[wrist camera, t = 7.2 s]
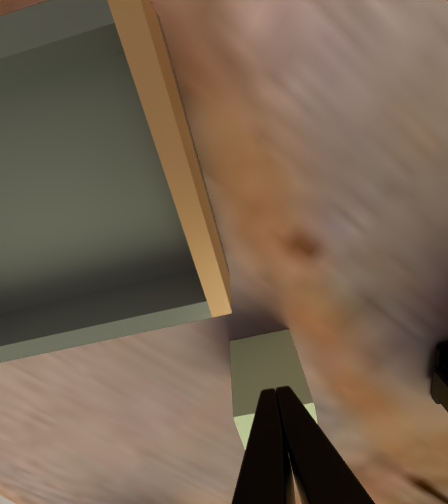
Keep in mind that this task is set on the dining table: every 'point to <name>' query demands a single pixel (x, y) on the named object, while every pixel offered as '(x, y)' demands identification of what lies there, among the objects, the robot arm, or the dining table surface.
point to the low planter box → (98, 182)
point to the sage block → (264, 375)
